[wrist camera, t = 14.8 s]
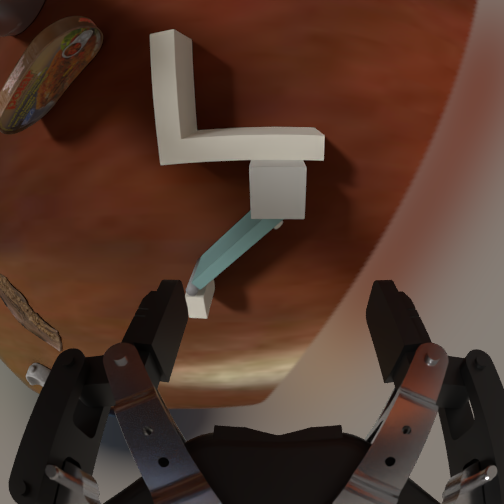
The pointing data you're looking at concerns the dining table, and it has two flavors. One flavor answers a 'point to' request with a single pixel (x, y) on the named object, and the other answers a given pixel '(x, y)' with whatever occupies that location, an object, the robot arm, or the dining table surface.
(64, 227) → the dining table surface
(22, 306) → the wooden fragment
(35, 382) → the dish
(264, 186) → the block
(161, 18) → the dining table surface
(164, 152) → the grey angled piece
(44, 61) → the tin
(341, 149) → the dining table surface
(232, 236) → the teal long flat block
